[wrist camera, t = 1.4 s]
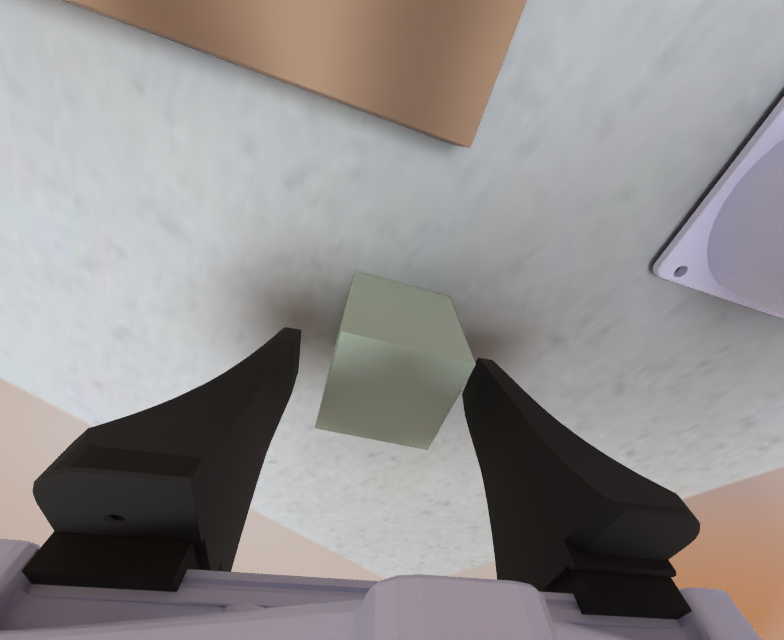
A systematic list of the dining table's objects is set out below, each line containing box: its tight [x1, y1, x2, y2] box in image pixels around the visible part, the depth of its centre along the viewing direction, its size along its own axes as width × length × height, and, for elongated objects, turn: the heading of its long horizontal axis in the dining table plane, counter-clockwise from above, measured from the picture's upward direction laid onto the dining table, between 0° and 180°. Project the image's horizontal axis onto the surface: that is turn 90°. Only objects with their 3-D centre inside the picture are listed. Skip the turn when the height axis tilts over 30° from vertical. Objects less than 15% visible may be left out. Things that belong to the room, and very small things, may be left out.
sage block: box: [315, 270, 476, 450], centre depth 13 cm, size 4×4×5 cm
